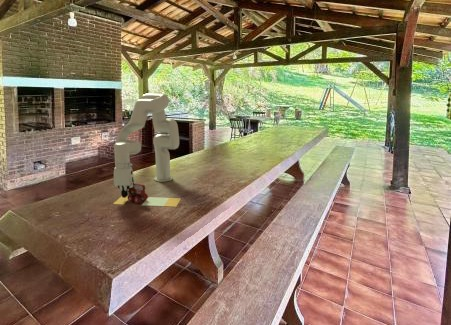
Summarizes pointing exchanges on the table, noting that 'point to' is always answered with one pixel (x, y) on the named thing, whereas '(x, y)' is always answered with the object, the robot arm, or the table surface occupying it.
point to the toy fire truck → (137, 193)
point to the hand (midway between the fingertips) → (124, 196)
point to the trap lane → (153, 201)
